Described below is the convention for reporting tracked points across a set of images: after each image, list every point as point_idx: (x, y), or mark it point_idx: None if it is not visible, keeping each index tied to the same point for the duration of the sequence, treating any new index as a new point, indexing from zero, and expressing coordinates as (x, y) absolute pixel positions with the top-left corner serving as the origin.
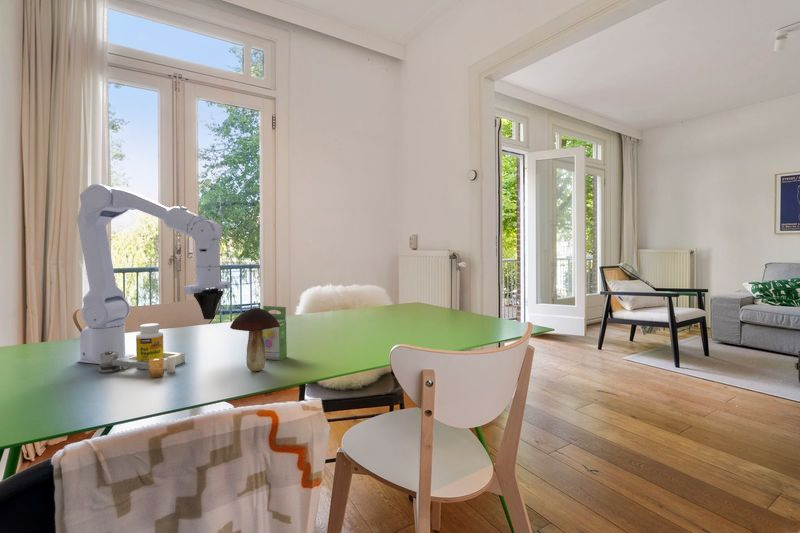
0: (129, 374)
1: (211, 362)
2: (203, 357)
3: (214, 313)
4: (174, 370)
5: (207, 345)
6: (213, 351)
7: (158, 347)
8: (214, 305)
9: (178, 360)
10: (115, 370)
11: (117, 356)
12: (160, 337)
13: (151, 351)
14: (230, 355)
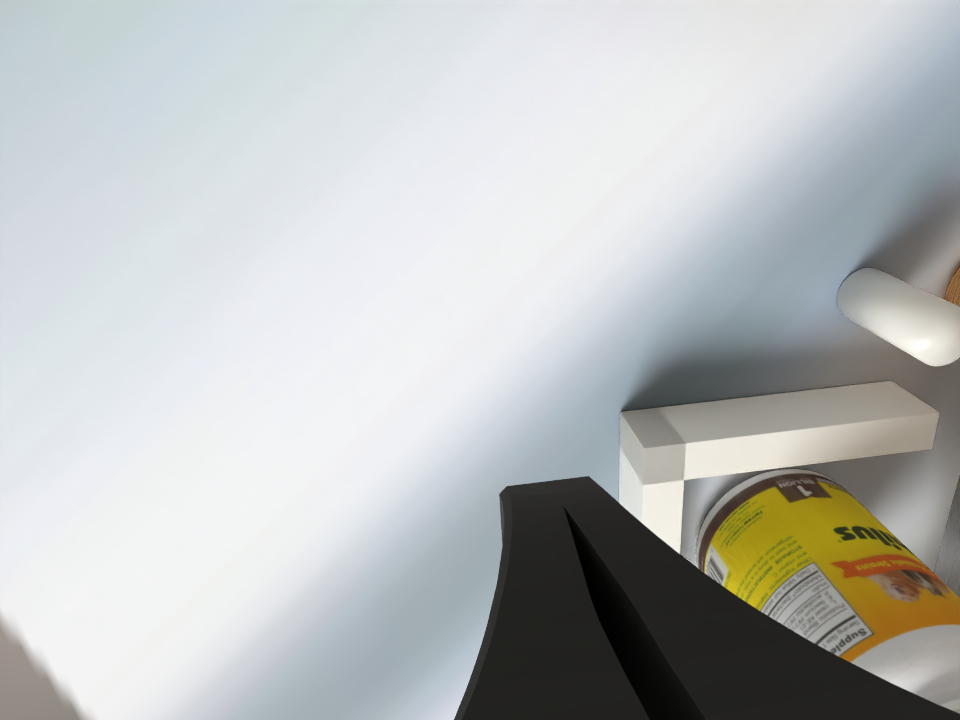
0: (941, 493)
1: (568, 194)
2: (462, 383)
3: (533, 524)
4: (869, 271)
5: (145, 644)
6: (272, 455)
7: (876, 555)
8: (599, 635)
9: (696, 418)
10: None
11: None
12: (911, 621)
13: (907, 551)
14: (308, 203)
